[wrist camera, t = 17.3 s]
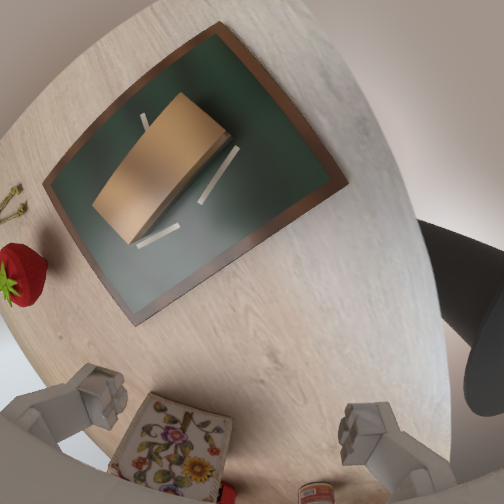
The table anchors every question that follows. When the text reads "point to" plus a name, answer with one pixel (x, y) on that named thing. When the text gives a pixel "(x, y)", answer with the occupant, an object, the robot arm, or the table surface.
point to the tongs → (13, 192)
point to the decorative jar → (174, 449)
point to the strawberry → (21, 274)
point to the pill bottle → (316, 494)
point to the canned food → (226, 494)
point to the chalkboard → (207, 183)
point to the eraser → (160, 168)
